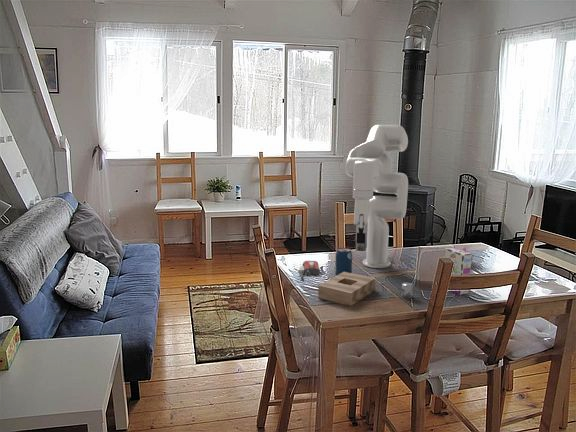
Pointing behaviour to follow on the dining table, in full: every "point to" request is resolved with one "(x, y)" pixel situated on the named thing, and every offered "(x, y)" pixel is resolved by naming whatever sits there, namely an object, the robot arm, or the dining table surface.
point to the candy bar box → (460, 263)
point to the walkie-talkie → (309, 268)
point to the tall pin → (358, 245)
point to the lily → (465, 248)
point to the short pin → (407, 290)
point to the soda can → (343, 261)
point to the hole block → (346, 288)
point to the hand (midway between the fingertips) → (360, 241)
